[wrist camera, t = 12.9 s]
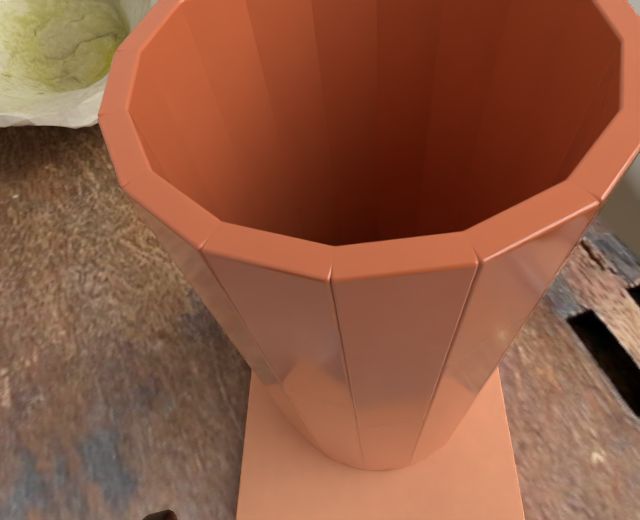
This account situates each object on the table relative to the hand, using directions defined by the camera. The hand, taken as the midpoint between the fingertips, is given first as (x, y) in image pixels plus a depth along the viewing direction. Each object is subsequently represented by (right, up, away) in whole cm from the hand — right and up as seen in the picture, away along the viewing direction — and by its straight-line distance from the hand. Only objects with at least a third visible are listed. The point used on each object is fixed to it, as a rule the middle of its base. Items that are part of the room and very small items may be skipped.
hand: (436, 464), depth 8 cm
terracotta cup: (0, -1, +9) cm, 9 cm away
